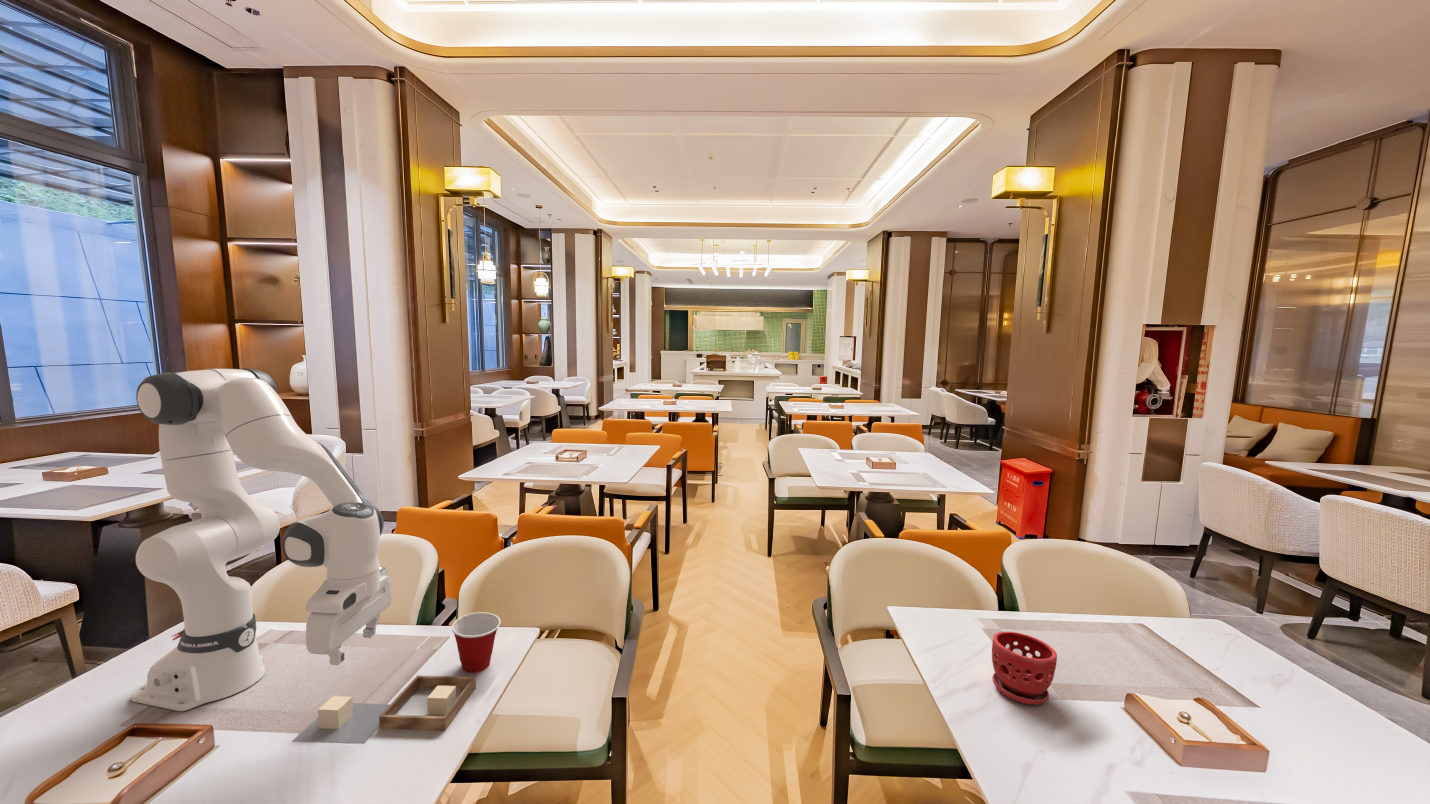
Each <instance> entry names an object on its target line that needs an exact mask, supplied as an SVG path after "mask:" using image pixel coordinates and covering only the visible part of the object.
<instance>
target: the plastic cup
mask: <svg viewBox="0 0 1430 804" xmlns="http://www.w3.org/2000/svg"><path fill="white" fill-rule="evenodd" d="M501 624H502V621H501V617H499V616H498V615H496V614H494V613H491V612H484V611H480V612H479V611H478V612H471V613H468V614H465V615H462V616H460V617H458V618H457V619H455V620H454V621H453V623H452V624H451V631H452V632H453V634H454V635H453V636H454V638H455V642H456V647H457V651H458V656H459V661H460V664H461V665H460V666H461V669H462V671H463V672H464V673H466V674H467V673H468V674H475V673H479V672H481V671H484V670H486V669H487V668H488V667H489V666H490V664H491V660H492V659H491V658H492V655H493V649H494V644H495V638H496V634H497V631H498V629H499V627H500V625H501Z"/></svg>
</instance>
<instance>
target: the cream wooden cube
mask: <svg viewBox="0 0 1430 804" xmlns="http://www.w3.org/2000/svg"><path fill="white" fill-rule="evenodd" d="M352 703H353V696H341V695H340V696H337V695H336V696H335V695H334V696H331V697H330V698H329V699H328V700H327V701H326V702H325V703H323V705H321V706H320V707H319V708H318V709H317V715H318V716H317V718H318V721H319V728H325V729H339V728H340V727H341V726H342V725H343V724H344V723H345V722H346V721H347V720H348V719H349V718H350V717H351V716H352V715H353V705H352Z"/></svg>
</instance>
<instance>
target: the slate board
mask: <svg viewBox="0 0 1430 804" xmlns="http://www.w3.org/2000/svg"><path fill="white" fill-rule="evenodd" d="M390 704H391V703H389V704H387V703H384V704H383V703H358V702H357V703H356V702H352V705H353V715H352V716H351V717H350V718H349V719H348V720H347V721H346V722H345V723H344V724H343V725H342V726H341V727H340V728H339V729H325V728H319V721H318V717H316V719H314V721H312V722H311V723H310V724H309V725H308V726H307V727H306V728H305V729H304V730H303V731H301V732H300V733H299V734H298V735H297V736H296V737H295V738H293V740H292V742H297V743H298V742H304V743H305V742H306V743H331V744H332V743H333V744H335V743H337V744H363V745H365V743H367V741H368V740H369V739H370V738H371V737H372V736H373V735H374V734H375V732H376V731H377V730H378V729H380V728H379V716H380V715H381V714H382V713H383V712H384V711H385V710H386V709H387V708H388V707H389V705H390Z"/></svg>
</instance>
